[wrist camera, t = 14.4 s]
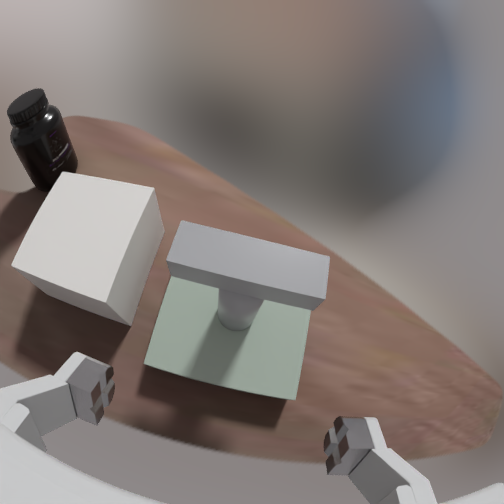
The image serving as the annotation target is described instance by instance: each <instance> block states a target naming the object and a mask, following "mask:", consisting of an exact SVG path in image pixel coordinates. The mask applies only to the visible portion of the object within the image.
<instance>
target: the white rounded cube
mask: <svg viewBox="0 0 504 504" xmlns="http://www.w3.org/2000/svg"><path fill="white" fill-rule="evenodd" d="M164 233H165V231H164V227H163V223H162V219H161V215H160V211H159V206H158V202H157V198H156V193H155V189H154V188H151V187H146V186H141V185H136V184H131V183H125V182H120V181H115V180H109V179H104V178H98V177H92V176H86V175H81V174H75V173H69V172H62V173H61V175H60V176H59V178H58V179H57V181H56V183H55V184H54V186H53V187H52V189H51V191H50V192H49V194H48V196H47V197H46V199H45V201H44V202H43V204H42V206H41V207H40V209H39V211H38V213H37V215H36V216H35V218H34V220H33V222H32V224H31V226H30V228H29V229H28V231H27V233H26V235H25V237H24V239H23V241H22V243H21V245H20V248H19V250H18V252H17V254H16V256H15V258H14V260H13V263H12V265H11V266H12V267H13V268H15V269H16V270H17V271H18V272H19V273H21V274H22V275H23V276H24V277H25V278H27V279H28V280H29V281H30V282H32V283H33V284H34V285H35V286H37V287H38V288H39V289H40V290H42V291H43V292H44V293H46V294H47V295H49V296H51V297H54V298H56V299H59V300H61V301H64V302H66V303H69V304H71V305H74V306H76V307H79V308H81V309H84V310H87V311H89V312H92V313H95V314H97V315H100V316H103V317H106V318H109V319H111V320H114V321H117V322H120V323H123V324H126V325H129V326H131V325H132V322H133V319H134V316H135V313H136V310H137V307H138V304H139V301H140V298H141V295H142V292H143V289H144V286H145V283H146V280H147V278H148V275H149V272H150V269H151V267H152V264H153V261H154V258H155V256H156V253H157V251H158V248H159V245H160V243H161V240H162V238H163V235H164Z"/></svg>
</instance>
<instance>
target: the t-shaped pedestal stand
mask: <svg viewBox="0 0 504 504" xmlns="http://www.w3.org/2000/svg"><path fill="white" fill-rule="evenodd" d="M329 261H330V257H328V256H325V255H321V254H317V253H313V252H309V251H305V250H301V249H297V248H293V247H289V246H285V245H281V244H277V243H273V242H269V241H265V240H261V239H257V238H253V237H249V236H245V235H240V234H236V233H232V232H228V231H224V230H220V229H216V228H212V227H207V226H203V225H199V224H195V223H191V222H186V221H182V220H181V223H180V225H179V228H178V230H177V233H176V235H175V238H174V241H173V243H172V246H171V249H170V251H169V254H168V257H167V259H166V262H167V265H168V268H169V271H170V274H171V278H170V281H169V284H168V287H167V290H166V293H165V296H164V299H163V302H162V305H161V308H160V312H159V315H158V318H157V321H156V324H155V328H154V331H153V334H152V337H151V341H150V344H149V348H148V351H147V354H146V358H145V361H144V364H146V365H148V366H150V367H153V368H156V369H159V370H162V371H166V372H169V373H172V374H176V375H179V376H183V377H186V378H190V379H193V380H197V381H201V382H205V383H209V384H212V385H217V386H221V387H225V388H229V389H234V390H238V391H243V392H248V393H252V394H257V395H263V396H268V397H274V398H279V399H285V400H295V399H296V394H297V389H298V384H299V378H300V373H301V367H302V362H303V356H304V350H305V344H306V338H307V332H308V325H309V319H310V312H311V310H312V311H313V310H314V309H315V308H316V307H318V306H319V305H320V304H321V303H322V302H323V301H324V300H325V298H326V289H327V280H328V271H329Z"/></svg>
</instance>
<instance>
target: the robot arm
mask: <svg viewBox="0 0 504 504" xmlns="http://www.w3.org/2000/svg"><path fill="white" fill-rule="evenodd" d="M113 375H114V371H113V367H112V366H110V365H107V364H105V363H103V362H100V361H98V360H96V359H93V358H91V357H89V356H86V355H84V354H81V353H79V352H75V353H73V354H72V355H71V356H70V358H69V359H68V360H67V361H66V362H65V363H64V364H63V365H62V367H61V368H60V369H59V370H58V371H57V372H56V373H55V375H54V376H52V375H47V376H44V377H40V378H37V379H33V380H30V381H26V382H23V383H19V384H15V385H12V386H8V387H4V388H0V504H168V503H164V502H161V501H157V500H154V499H151V498H147V497H144V496H141V495H138V494H135V493H132V492H129V491H127V490H124V489H121V488H119V487H116V486H114V485H111V484H109V483H106V482H104V481H101V480H99V479H97V478H94V477H92V476H90V475H88V474H86V473H84V472H82V471H80V470H77V469H75V468H73V467H71V466H69V465H68V464H66V463H64V462H62V461H60V460H58V459H56V458H54V457H53V456H51V455H49V454H47V453H46V451H47V449H46V446H45V444H44V442H43V440H42V438H41V436H43V435H45V434H47V433H49V432H51V431H53V430H55V429H57V428H59V427H61V426H63V425H65V424H67V423H69V422H71V421H73V420H75V419H77V417H78V418H80V419H82V420H85V421H87V422H89V423H92V424H94V425H98V423H99V422H100V420H101V418H102V416H103V415H104V409H103V408H104V407H106V406H109V404H110V403H111V401H112V398H113V395H114V390H115V383H114V381H113V380H112V379H111V378H112V376H113ZM333 423H334V427H333V428H331V429H329V430H328V432H327V434H326V435H325V439H324V452H325V453H326V454H327V456H328V459H327V460H326V468H327V474H328V475H348V477H349V478H350V480H351V481H352V482H353V483H354V485H355V486H356V487H357V488H358V490H359V491H360V492H361V493H362V494H363V496H364V497H365V498H366V499H367V500H368V502H369V503H370V504H437V502H436V499H435V496H434V493H433V491H432V487H431V485H430V482H429V480H428V479H427V478H425V477H424V476H423V475H422V474H420V473H419V472H418V471H417V470H416V469H414V468H413V467H412V466H411V465H409V464H408V463H407V462H406V461H405V460H404V459H402V458H401V457H400V456H399V455H398V454H396V453H395V452H394V451H393V450H392V449H387V446H386V443H385V440H384V437H383V434H382V432H381V429H380V426H379V423H378V420H377V419H376V418H371V417H347V416H339V417H337V418H336V419H335V421H334V422H333ZM440 504H504V484H503V483H496V484H493V485H490V486H488V487H486V488H483V489H481V490H478V491H476V492H473V493H470V494H467V495H465V496H462V497H459V498H456V499H453V500H450V501H446V502H443V503H440Z"/></svg>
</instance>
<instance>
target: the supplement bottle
mask: <svg viewBox="0 0 504 504" xmlns="http://www.w3.org/2000/svg"><path fill="white" fill-rule="evenodd" d="M48 104H49V103H48V100H47V98H46V96H45V93H44V90H43V89H33V90H31V91H28V92H26V93H24V94H22V95H21V96H19V97H18V98H17V99H16V100H15V101H13V102H12V103H11V105H10V106H9V108H8V110H7V115H8V117H9V119H10V123H11V125H12V127H13V129H12V131H11V135H10V140H11V143H12V145H13V148H14V149H15V151H16V153H17V155H18V157H19V159H20V161H21V163H22V164H23V166H24V168H25V170H26V172H27V173H28V175H29V177H30V179H31V180H32V182H33V183H34V185H35V186H36V188H38V189H39V190H42V191H51V189H52V187H53V186H54V184H55V183H56V181H57V179H58V178H59V176H60V175H61V173H62V172H69V173H75V171H76V169H77V164H78V160H77V157H76V154H75V151H74V149H73V146H72V143H71V141H70V138H69V135H68V133H67V130H66V127H65V124H64V122H63V119H62V116H61V113H60V111H59V110H58V109H57V108H56V107H55V106H53V105H48Z"/></svg>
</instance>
